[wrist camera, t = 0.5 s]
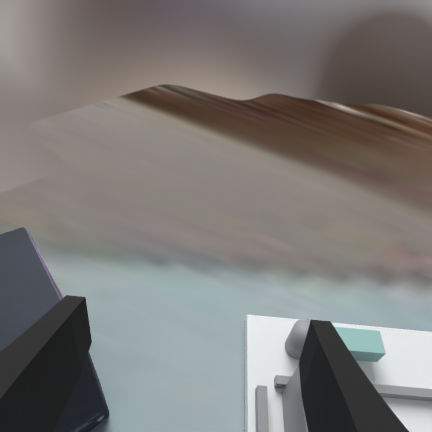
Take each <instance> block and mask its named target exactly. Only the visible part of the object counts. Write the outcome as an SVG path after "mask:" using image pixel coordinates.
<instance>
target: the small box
mask: <svg viewBox="0 0 432 432" xmlns="http://www.w3.org/2000/svg"><path fill="white" fill-rule="evenodd" d="M63 298H64V296H63V294H62V293H61V291H60V289H59V287H58V285H57V283H56V281H55V279H54V278H53V276H52V274H51V272H50V270H49V268H48V266H47V264H46V262H45V261H44V259H43V257H42V255H41V253H40V251H39V249H38V248H37V246H36V244H35V242H34V241H33V239H32V237H31V235H30V234H29V232H28V230H27V228H26V227H22V228H19V229H16V230H13V231H10V232H7V233H4V234H1V235H0V352H1V351H2V350H3V349H4V348H6V347H7V346H8V345H9V344H10V343H12V342H13V341H14V340H15V339H16V338H18V337H19V336H20V335H21V334H22V333H24V332H25V331H26V330H27V329H28V328H29V327H31V326H32V325H33V324H34V323H35V322H36V321H38V320H39V319H40V318H41V317H42V316H43V315H44V314H46V313H47V312H48V311H49V310H50V309H51V308H52V307H53V306H55V305H56V304H57V303H58V302H59V301H60V300H62V299H63ZM108 416H109V410H108V407H107V404H106V400H105V397H104V394H103V391H102V388H101V385H100V382H99V379H98V376H97V373H96V370H95V368H94V365H93V362H92V359H91V357H90V354H89V352H88V355H87V358H86V361H85V363H84V366H83V369H82V372H81V374H80V376H79V379H78V381H77V383H76V385H75V387H74V389H73V391H72V393H71V395H70V398H69V400H68V402H67V404H66V406H65V408H64V410H63V412H62V414H61V416H60V418H59V420H58V423H57V425H56V427H55V429H54V431H53V432H88V431H90V430H91V429H92V428H94V427H95V426H96V425H98V424H99V423H100V422H101V421H103V420H104V419H106V418H107V417H108Z"/></svg>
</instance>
